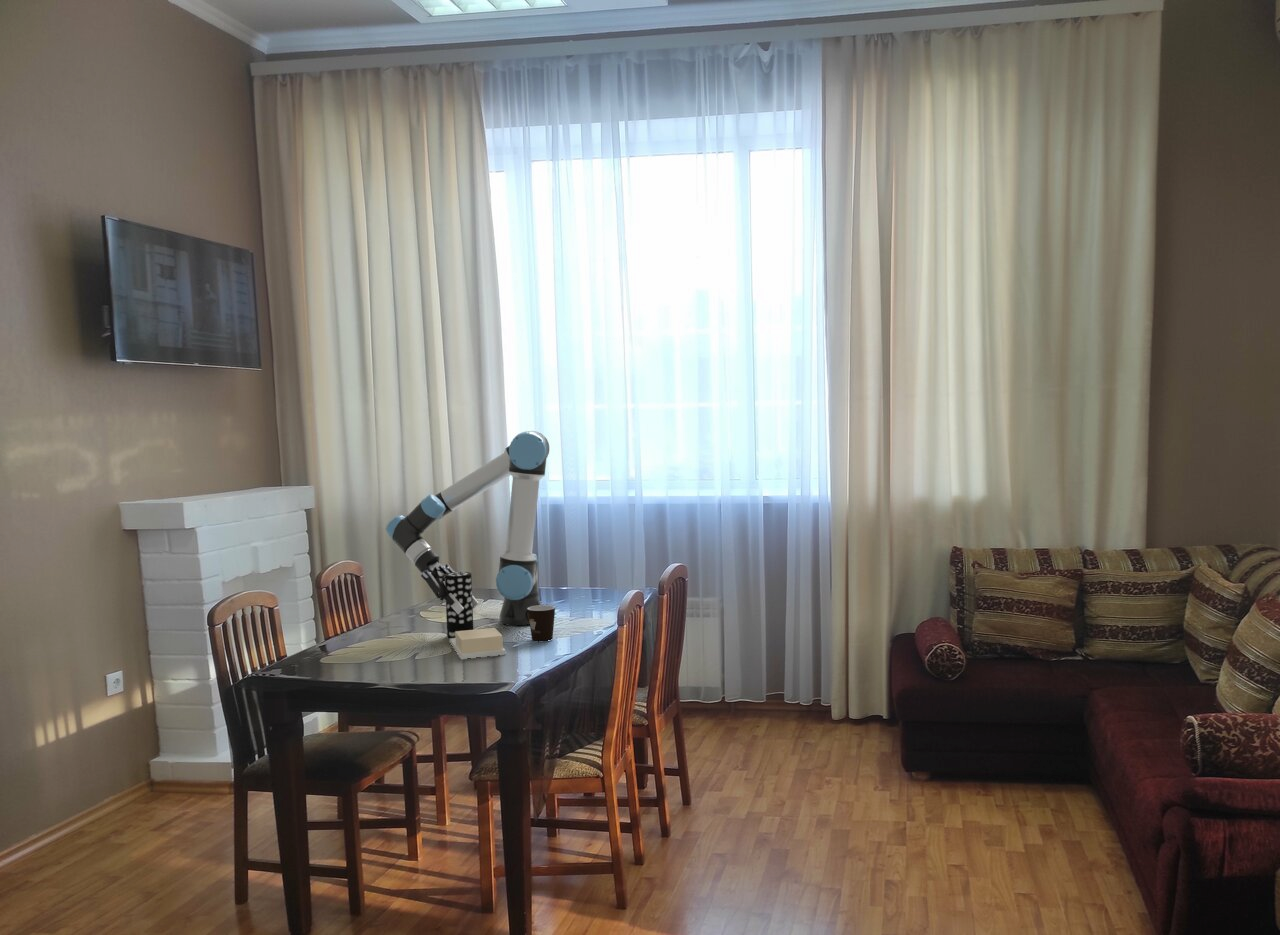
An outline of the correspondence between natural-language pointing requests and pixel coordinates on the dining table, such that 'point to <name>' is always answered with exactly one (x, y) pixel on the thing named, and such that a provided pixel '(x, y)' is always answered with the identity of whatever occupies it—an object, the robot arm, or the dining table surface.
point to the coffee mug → (541, 622)
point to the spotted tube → (462, 591)
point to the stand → (478, 643)
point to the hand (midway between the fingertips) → (468, 608)
